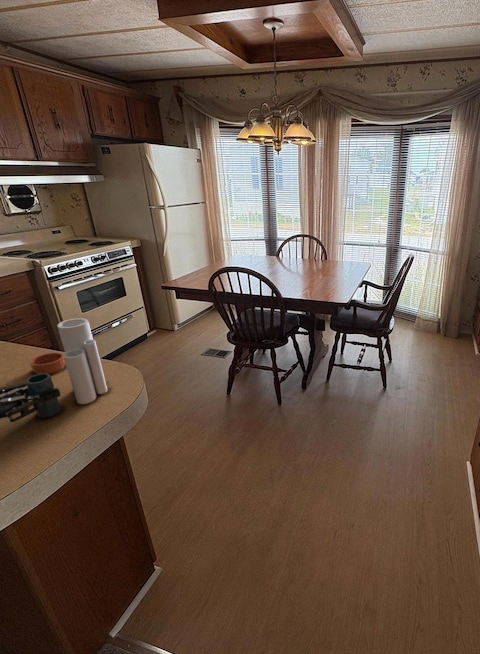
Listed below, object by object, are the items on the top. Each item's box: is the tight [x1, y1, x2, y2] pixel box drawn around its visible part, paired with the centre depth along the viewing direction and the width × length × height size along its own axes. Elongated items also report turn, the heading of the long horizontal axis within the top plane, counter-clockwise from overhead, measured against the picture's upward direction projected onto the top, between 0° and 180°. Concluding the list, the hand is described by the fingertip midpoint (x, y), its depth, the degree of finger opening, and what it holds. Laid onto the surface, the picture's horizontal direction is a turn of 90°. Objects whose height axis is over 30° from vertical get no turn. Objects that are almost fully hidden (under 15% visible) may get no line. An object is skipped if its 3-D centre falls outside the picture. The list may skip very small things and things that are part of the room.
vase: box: [56, 317, 108, 405], centre depth 91 cm, size 11×7×20 cm, turn 36°
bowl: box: [29, 352, 66, 375], centre depth 105 cm, size 8×8×4 cm
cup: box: [25, 373, 61, 419], centre depth 84 cm, size 5×5×10 cm
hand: (55, 387), depth 86 cm, fingers closed on cup, 4 cm apart
